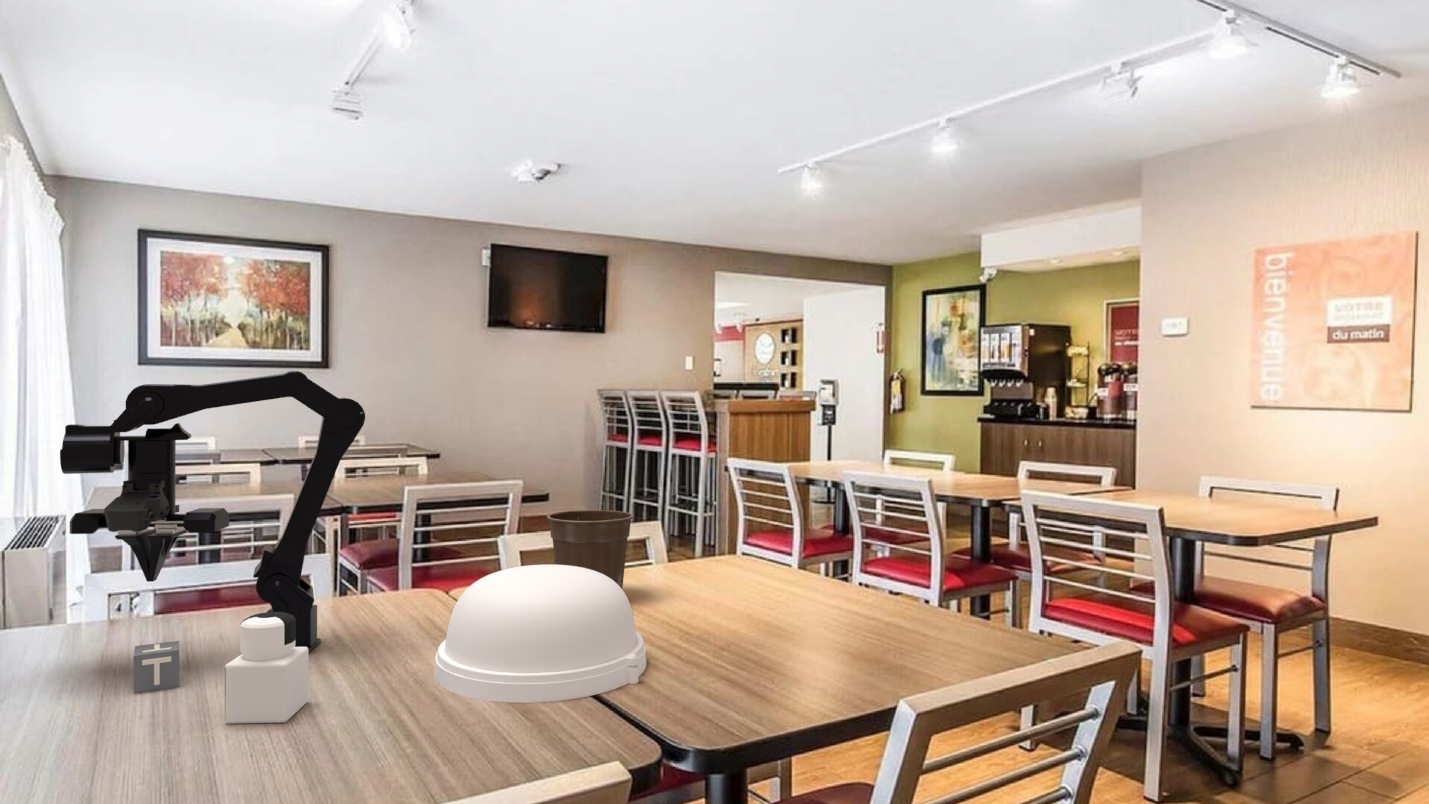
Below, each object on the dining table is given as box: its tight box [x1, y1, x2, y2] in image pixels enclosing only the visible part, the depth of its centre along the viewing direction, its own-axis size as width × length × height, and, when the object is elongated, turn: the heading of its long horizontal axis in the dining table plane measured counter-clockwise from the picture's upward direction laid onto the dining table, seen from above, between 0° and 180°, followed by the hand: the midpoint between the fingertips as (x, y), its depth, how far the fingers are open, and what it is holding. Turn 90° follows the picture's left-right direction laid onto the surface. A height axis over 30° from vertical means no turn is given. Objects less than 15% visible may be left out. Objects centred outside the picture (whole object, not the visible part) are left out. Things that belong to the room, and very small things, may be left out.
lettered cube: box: [133, 640, 180, 695], centre depth 116 cm, size 5×5×5 cm
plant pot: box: [546, 509, 634, 590], centre depth 166 cm, size 16×16×16 cm
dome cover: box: [433, 564, 647, 704], centre depth 126 cm, size 32×30×14 cm
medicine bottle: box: [224, 611, 309, 725], centre depth 107 cm, size 7×7×12 cm
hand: (151, 581), depth 125 cm, fingers closed
